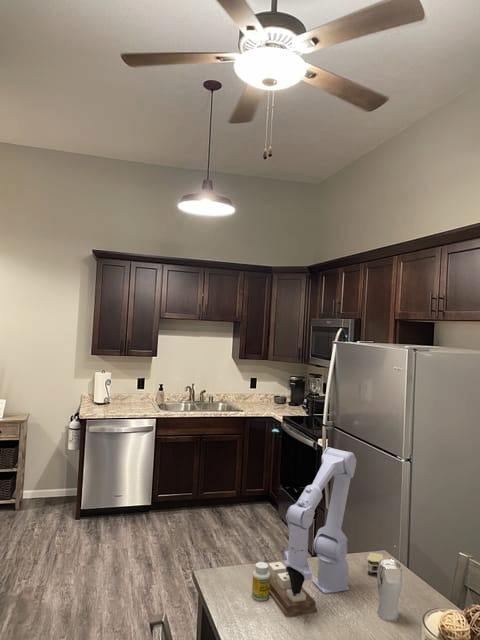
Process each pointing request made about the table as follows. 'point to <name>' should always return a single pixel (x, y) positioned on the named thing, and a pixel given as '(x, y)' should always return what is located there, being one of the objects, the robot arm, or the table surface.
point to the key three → (295, 596)
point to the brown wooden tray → (286, 604)
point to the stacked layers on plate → (373, 562)
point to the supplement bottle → (261, 582)
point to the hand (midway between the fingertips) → (296, 592)
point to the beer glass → (389, 588)
